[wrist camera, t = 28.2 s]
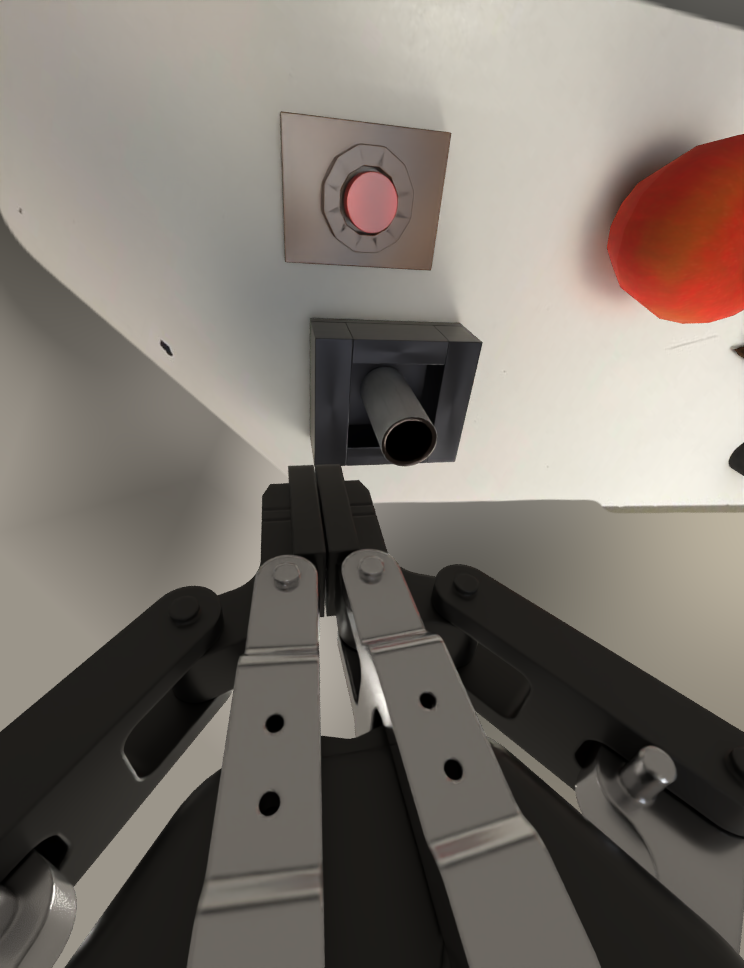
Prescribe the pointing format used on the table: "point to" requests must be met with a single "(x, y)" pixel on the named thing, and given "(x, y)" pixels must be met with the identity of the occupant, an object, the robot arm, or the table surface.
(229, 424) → the table surface
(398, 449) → the dark grey hollow cylinder
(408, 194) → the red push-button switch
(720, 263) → the apple
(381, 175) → the button
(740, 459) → the flashlight
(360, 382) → the open-top black bin
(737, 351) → the bread
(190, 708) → the robot arm
